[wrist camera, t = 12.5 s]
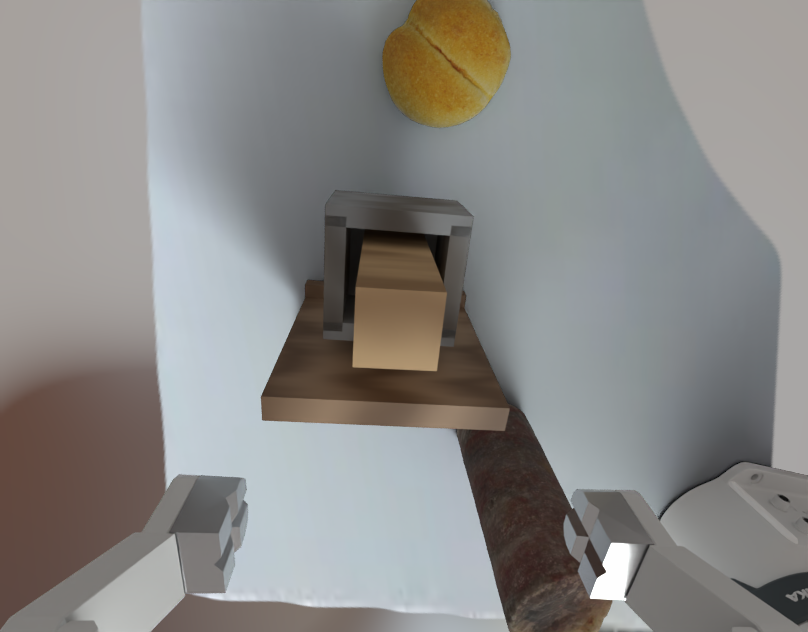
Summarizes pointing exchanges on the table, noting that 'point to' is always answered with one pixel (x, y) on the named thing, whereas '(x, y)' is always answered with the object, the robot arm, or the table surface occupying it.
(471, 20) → the bread roll
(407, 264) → the wooden block
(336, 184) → the table surface
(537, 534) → the brown rough cylinder
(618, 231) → the table surface
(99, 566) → the robot arm
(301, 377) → the bracket
